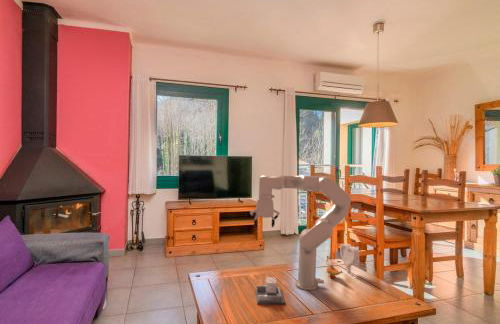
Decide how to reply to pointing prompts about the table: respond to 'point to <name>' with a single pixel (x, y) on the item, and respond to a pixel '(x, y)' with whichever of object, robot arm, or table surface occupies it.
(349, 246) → the heart sculpture
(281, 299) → the grey square tray
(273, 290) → the block
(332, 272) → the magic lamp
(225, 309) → the table surface
